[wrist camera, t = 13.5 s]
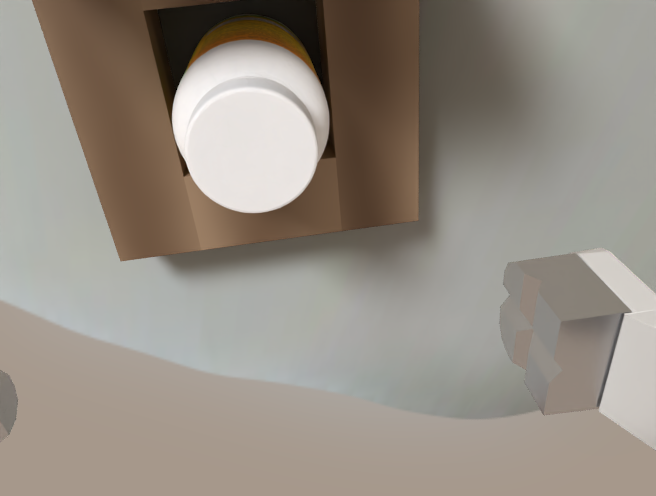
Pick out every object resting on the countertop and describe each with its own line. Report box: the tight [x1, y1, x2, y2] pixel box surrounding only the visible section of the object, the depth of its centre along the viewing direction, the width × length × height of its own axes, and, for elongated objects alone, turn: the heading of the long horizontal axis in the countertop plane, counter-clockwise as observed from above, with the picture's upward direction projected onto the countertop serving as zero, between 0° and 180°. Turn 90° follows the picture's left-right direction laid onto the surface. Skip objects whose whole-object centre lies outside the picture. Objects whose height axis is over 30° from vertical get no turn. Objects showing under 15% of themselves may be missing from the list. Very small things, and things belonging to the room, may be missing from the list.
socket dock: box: [32, 0, 419, 261], centre depth 18 cm, size 14×16×12 cm
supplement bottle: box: [172, 14, 329, 213], centre depth 20 cm, size 5×5×10 cm
